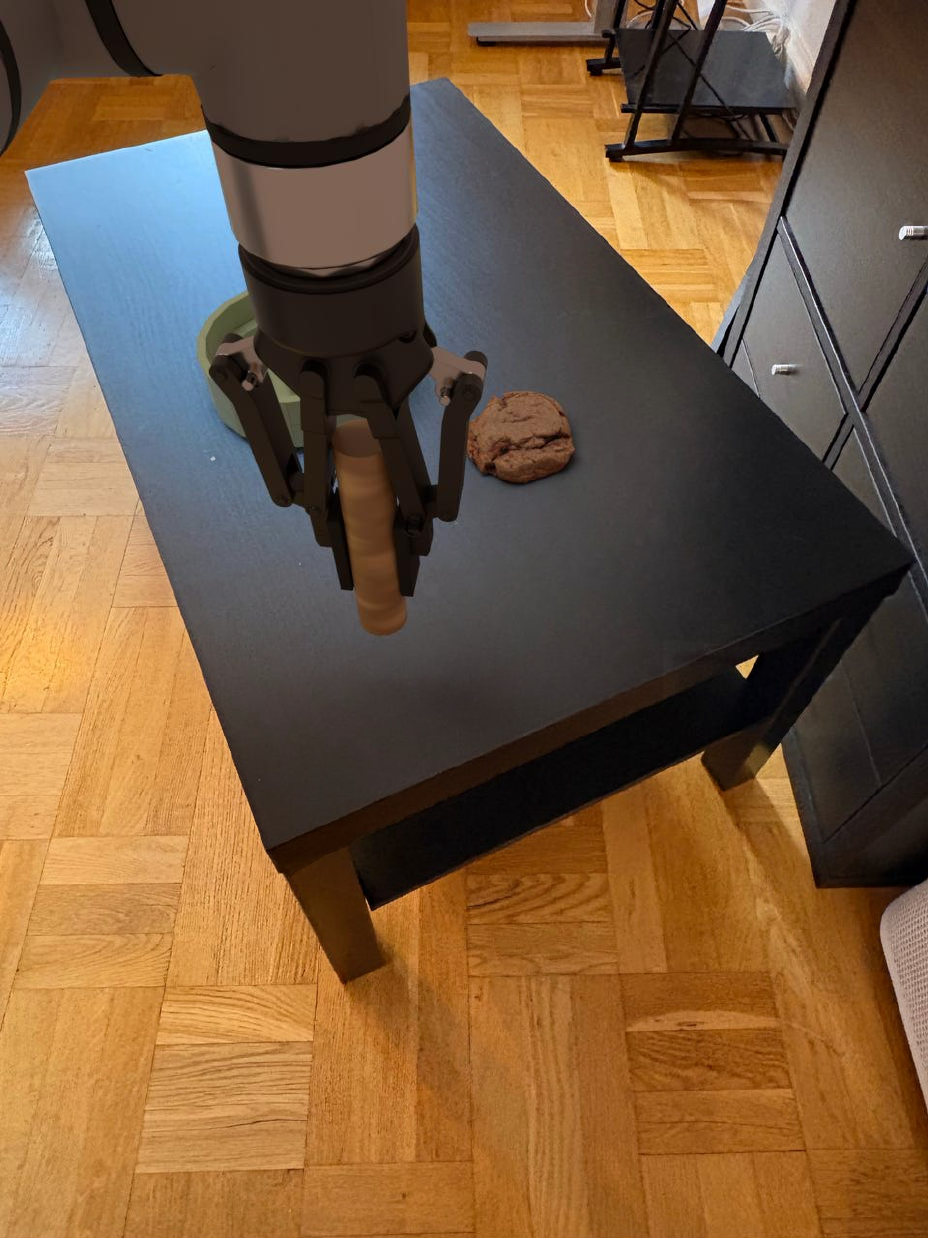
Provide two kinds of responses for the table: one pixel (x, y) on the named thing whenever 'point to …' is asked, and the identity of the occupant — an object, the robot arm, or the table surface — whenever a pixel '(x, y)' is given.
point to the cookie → (520, 437)
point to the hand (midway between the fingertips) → (381, 575)
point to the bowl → (242, 322)
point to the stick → (369, 527)
